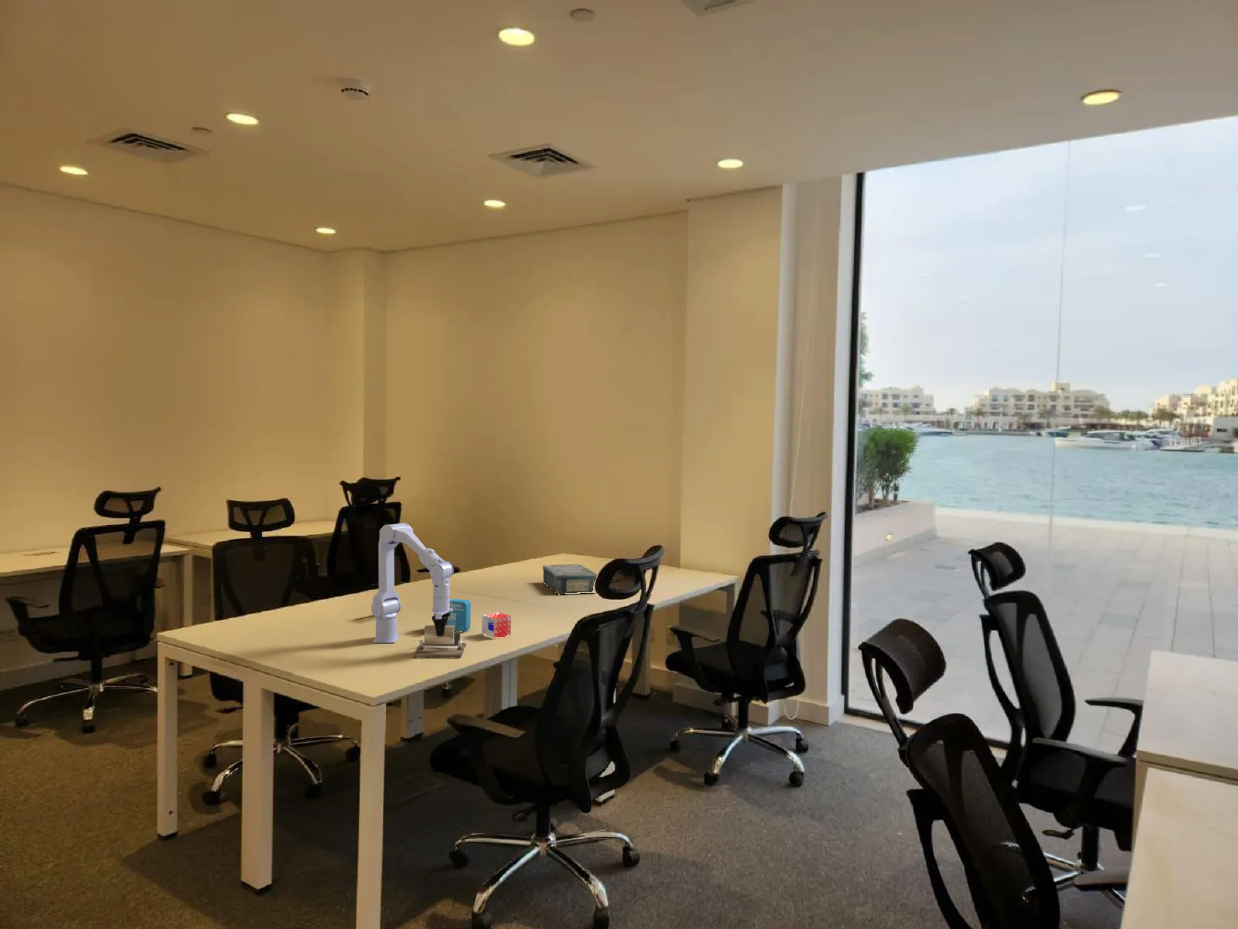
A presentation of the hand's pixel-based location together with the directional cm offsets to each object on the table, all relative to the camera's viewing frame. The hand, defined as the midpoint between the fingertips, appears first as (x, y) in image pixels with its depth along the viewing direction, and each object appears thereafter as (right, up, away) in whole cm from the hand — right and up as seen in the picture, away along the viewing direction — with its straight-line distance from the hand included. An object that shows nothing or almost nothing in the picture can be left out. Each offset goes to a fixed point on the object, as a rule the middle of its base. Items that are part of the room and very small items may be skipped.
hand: (440, 635), depth 288 cm
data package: (-2, -5, +31) cm, 32 cm away
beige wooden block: (-1, -3, 0) cm, 3 cm away
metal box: (+38, -3, +122) cm, 127 cm away
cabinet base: (0, -6, 0) cm, 6 cm away
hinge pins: (0, -6, 0) cm, 6 cm away
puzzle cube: (+16, -6, +25) cm, 30 cm away
